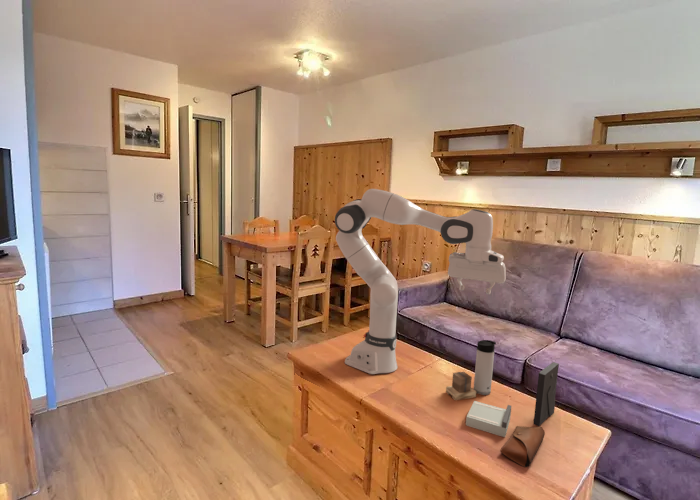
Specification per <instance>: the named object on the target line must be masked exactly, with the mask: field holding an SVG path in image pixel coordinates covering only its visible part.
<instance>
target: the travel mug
mask: <svg viewBox="0 0 700 500" xmlns="http://www.w3.org/2000/svg"><path fill="white" fill-rule="evenodd" d="M495 345H497V343H496V341H495V340H489V339H482V340H478V342H477V345H476V355H475V356H476V358H475V368H474V369H475V370H474V377H473V378H474V379H473V381H474V382H473V389H474V390H475V391H476V394H478V395H483V396H487V395H490V394H491V391H492V382H493V381H492V380H493V372H494V371H493V369H494V359H495V358H494V357H495Z"/></svg>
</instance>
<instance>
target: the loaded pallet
mask: <svg viewBox="0 0 700 500" xmlns="http://www.w3.org/2000/svg"><path fill="white" fill-rule="evenodd" d="M472 379H473V378H472V376H471V375H469V373H467V372H465V371H457V372H452V383H451V385H449V386H446V387H445V393H447V396H449V395H450V396H451V397H452V399H453V400H454V401H459V400H467V399H473V398H477V393H476V391H475V390H474V387H472V381H473V380H472Z"/></svg>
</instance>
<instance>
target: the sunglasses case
mask: <svg viewBox="0 0 700 500" xmlns="http://www.w3.org/2000/svg"><path fill="white" fill-rule="evenodd" d="M545 435H546V432H545V430H544V428H543V427H542V426H537V427H532V426H531V427H530V426H518V425H517V426H515V428H514V430H513V432H512V434H511V435H510V436H509V438H508V439H507V441H506V442H505V443H504V444H503V446H502V447H501V448H500V450H499V452H500V453H501V454H502V455H503V456H505V457H507V458H508V459H510V460H511V461H513V462H515V463H516V464H518V465H520V466H521V467H524V468H528V467H530V465H531V463H532V462H533V460H534V458H535V456H536V454H537V453H538V452H537V451H538V450H539V447H540V446H541V444H542V442H543V441H544V437H545Z"/></svg>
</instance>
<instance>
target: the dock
mask: <svg viewBox="0 0 700 500" xmlns="http://www.w3.org/2000/svg"><path fill="white" fill-rule="evenodd" d="M511 414H512V405H510V404H507V406H506V408H503V407H500V406H499V407H498V406H495V405H491V404H489V403H488V404H487V403H484V402H480V401H477V400H473V403H472V405H471V406H470V408H469V411H468V413H467V415H466V419H465V426H467V427H470V428H473V429H476V430H479V431H483V432H487V433H490V434H493V435H496V436H500V437H501V438H506V436H507V432H508V429H509V425H510V422H511Z"/></svg>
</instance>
